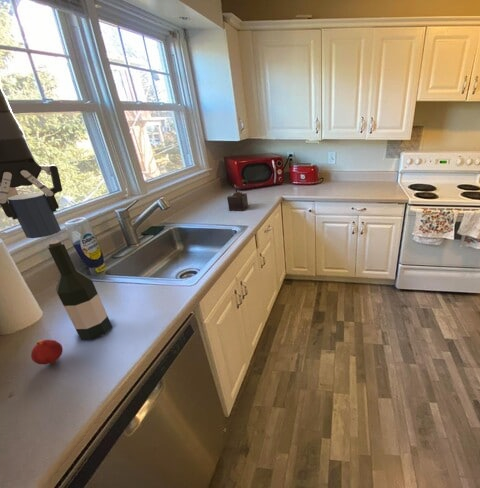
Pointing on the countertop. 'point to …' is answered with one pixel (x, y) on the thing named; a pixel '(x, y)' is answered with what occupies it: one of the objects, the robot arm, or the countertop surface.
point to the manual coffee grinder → (238, 199)
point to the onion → (46, 352)
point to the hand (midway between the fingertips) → (35, 214)
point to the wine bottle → (79, 296)
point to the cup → (34, 214)
